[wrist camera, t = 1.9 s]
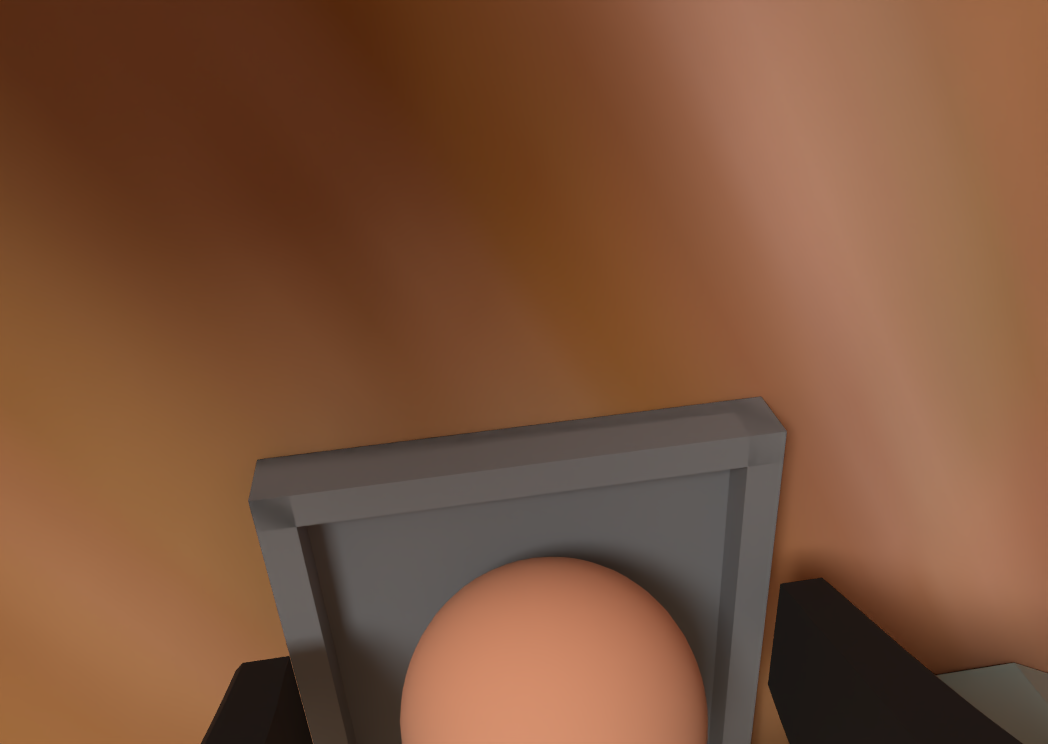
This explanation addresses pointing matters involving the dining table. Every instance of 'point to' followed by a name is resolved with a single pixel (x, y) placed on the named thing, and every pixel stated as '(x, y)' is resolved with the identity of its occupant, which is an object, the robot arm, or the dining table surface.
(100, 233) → the dining table surface
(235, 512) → the dining table surface
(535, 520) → the slate tray
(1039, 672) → the teal tube
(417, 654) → the ball terracotta
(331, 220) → the dining table surface
